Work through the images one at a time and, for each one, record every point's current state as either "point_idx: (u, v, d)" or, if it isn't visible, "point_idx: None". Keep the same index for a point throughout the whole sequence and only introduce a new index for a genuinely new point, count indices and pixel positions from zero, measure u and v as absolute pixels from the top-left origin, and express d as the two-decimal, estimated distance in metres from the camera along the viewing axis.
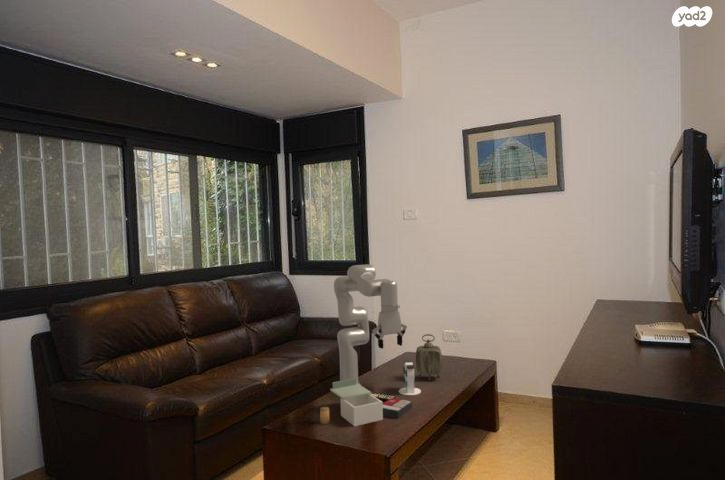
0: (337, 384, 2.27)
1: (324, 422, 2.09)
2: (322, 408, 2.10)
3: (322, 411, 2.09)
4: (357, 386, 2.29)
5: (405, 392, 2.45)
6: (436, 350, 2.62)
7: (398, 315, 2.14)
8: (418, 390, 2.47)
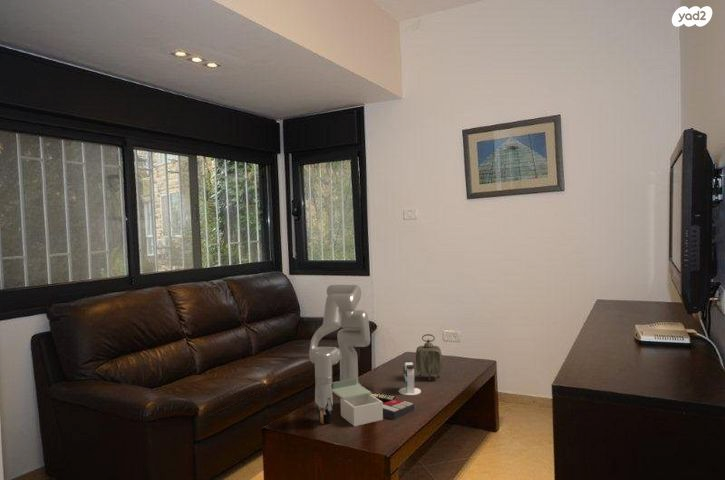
0: (337, 384, 2.27)
1: None
2: None
3: (322, 411, 2.09)
4: (357, 386, 2.29)
5: (405, 392, 2.45)
6: (436, 350, 2.62)
7: None
8: (418, 390, 2.47)
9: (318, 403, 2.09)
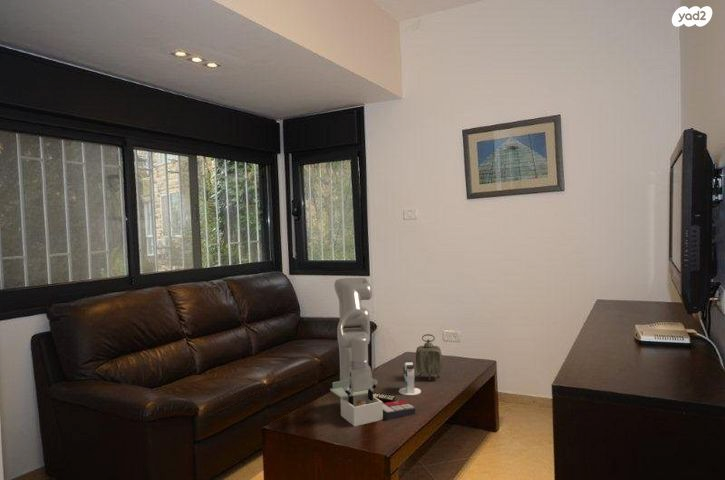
0: (337, 384, 2.27)
1: None
2: (361, 402, 2.13)
3: (365, 403, 2.13)
4: None
5: (405, 392, 2.45)
6: (436, 350, 2.62)
7: None
8: (418, 390, 2.47)
9: (363, 388, 2.12)
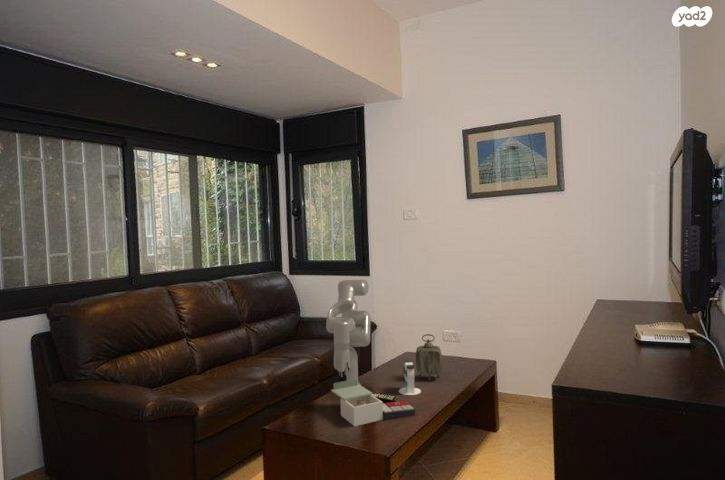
0: (338, 385, 2.26)
1: None
2: (361, 402, 2.13)
3: (365, 403, 2.13)
4: (358, 387, 2.28)
5: (405, 392, 2.45)
6: (436, 350, 2.62)
7: None
8: (418, 390, 2.47)
9: (337, 367, 2.30)
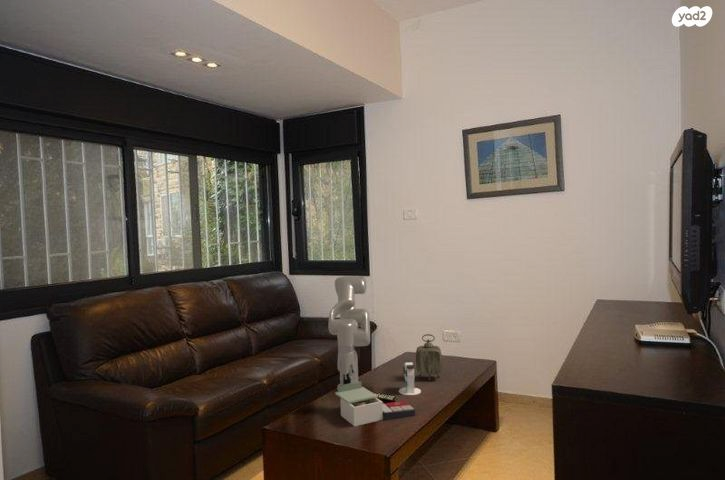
0: (342, 387, 2.22)
1: None
2: (361, 402, 2.13)
3: (365, 403, 2.13)
4: (362, 389, 2.24)
5: (405, 392, 2.45)
6: (436, 350, 2.62)
7: None
8: (418, 390, 2.47)
9: (341, 370, 2.26)
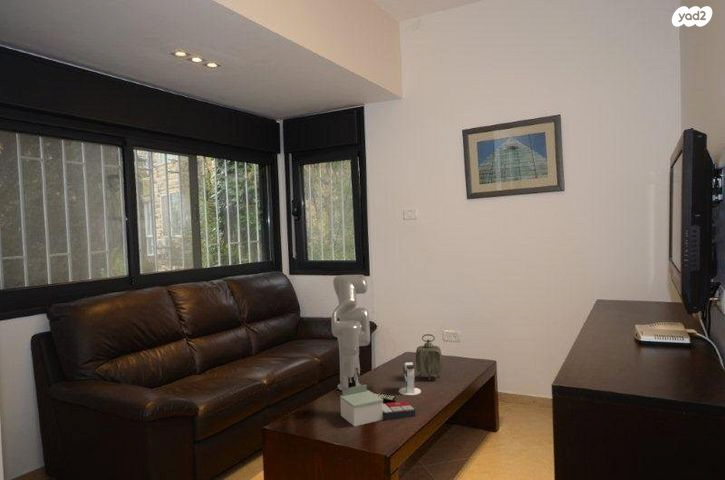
0: (347, 391, 2.18)
1: None
2: None
3: None
4: (368, 393, 2.19)
5: (405, 392, 2.45)
6: (436, 350, 2.62)
7: None
8: (418, 390, 2.47)
9: (346, 373, 2.21)
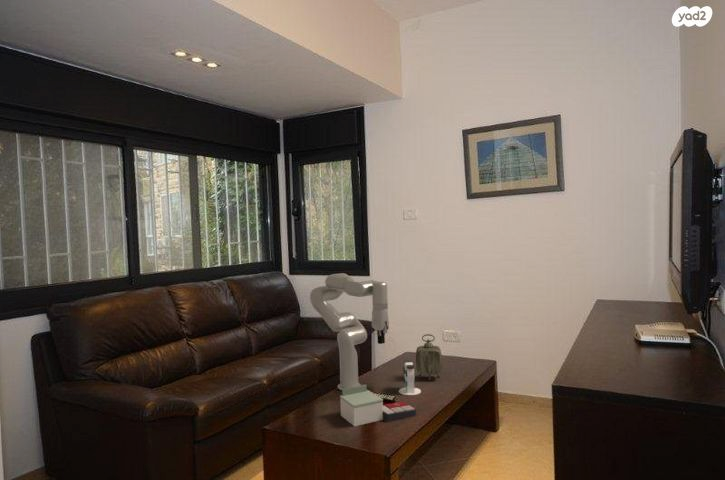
0: (347, 391, 2.18)
1: None
2: None
3: None
4: (368, 393, 2.19)
5: (405, 392, 2.45)
6: (436, 350, 2.62)
7: None
8: (418, 390, 2.47)
9: (375, 327, 2.38)
